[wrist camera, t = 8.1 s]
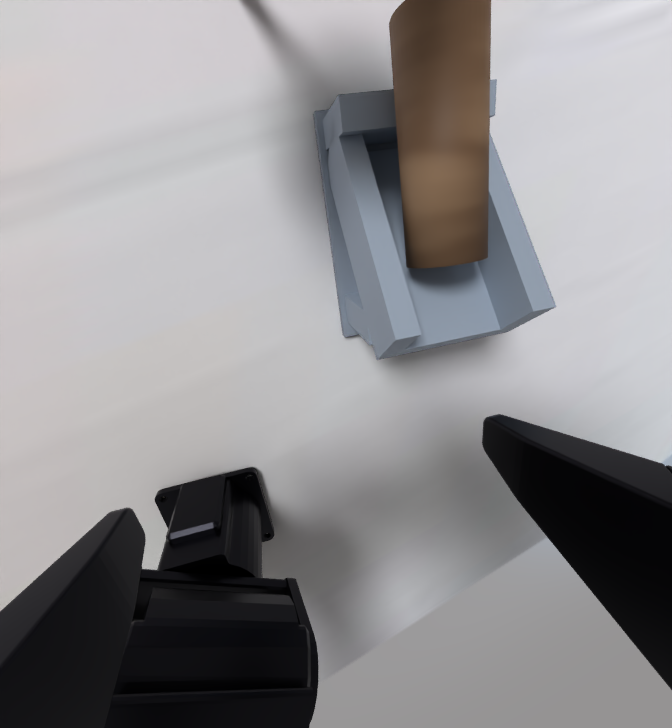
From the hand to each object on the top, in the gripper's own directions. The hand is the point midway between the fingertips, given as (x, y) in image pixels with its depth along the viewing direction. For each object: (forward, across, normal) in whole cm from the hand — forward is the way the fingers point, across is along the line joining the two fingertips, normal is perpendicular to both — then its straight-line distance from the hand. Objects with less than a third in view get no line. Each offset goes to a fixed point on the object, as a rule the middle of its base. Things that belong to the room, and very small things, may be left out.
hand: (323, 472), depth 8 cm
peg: (+6, -7, -4) cm, 10 cm away
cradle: (+12, -7, -4) cm, 15 cm away
